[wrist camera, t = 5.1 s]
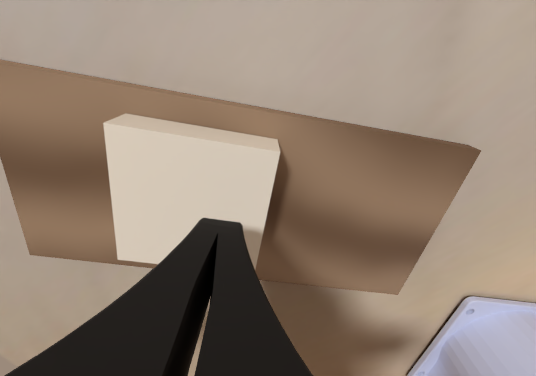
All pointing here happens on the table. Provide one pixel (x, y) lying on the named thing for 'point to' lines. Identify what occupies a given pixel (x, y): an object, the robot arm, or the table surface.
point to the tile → (184, 183)
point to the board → (283, 193)
